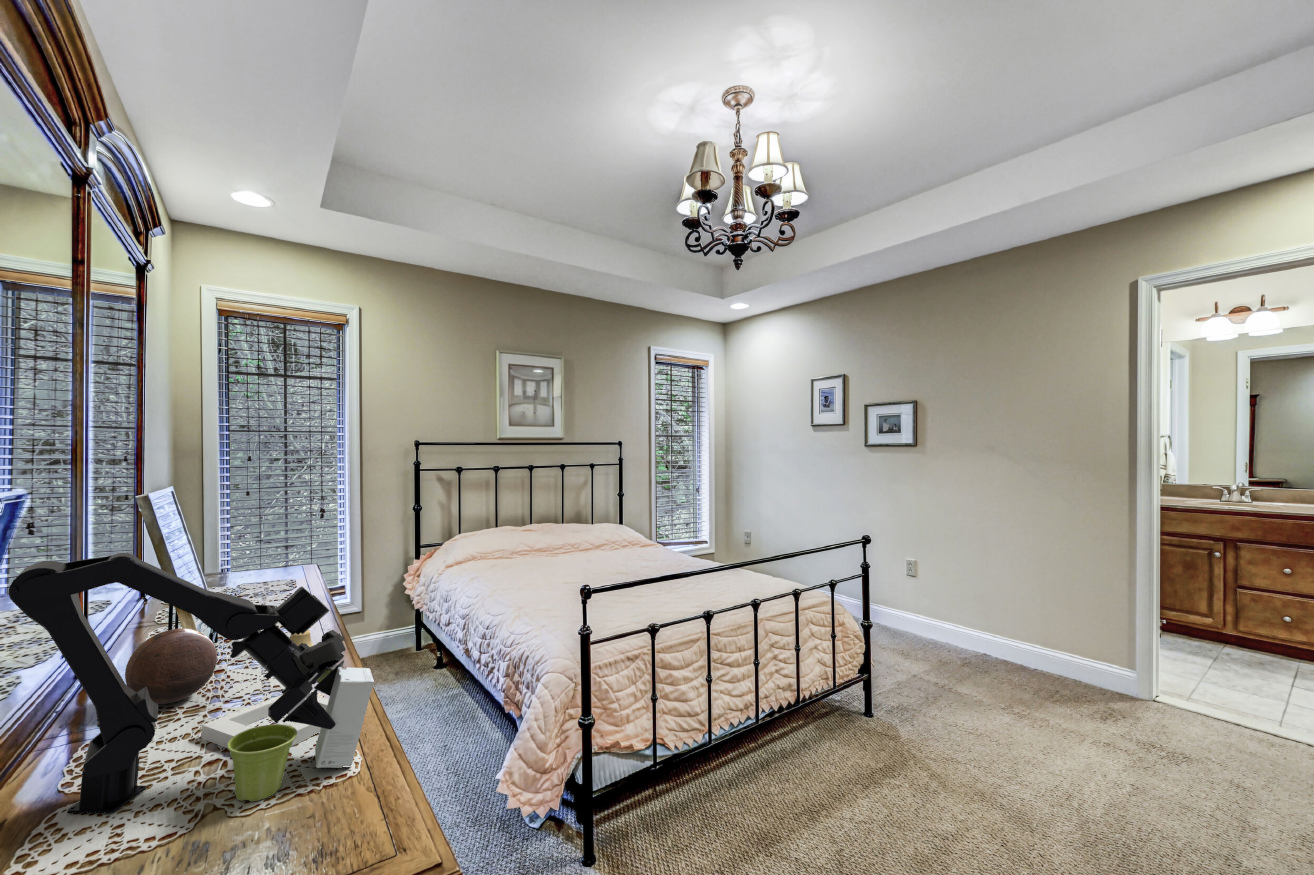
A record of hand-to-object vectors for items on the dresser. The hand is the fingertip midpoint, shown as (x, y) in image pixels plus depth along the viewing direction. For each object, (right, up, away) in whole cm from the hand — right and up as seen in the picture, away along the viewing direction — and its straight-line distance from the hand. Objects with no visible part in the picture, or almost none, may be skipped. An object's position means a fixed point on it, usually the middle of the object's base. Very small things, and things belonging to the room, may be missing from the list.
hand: (343, 714), depth 104 cm
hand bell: (-39, -8, +50) cm, 64 cm away
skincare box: (-2, -8, -1) cm, 8 cm away
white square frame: (-18, -7, +10) cm, 22 cm away
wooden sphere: (-47, -6, +18) cm, 51 cm away
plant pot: (-8, -8, -11) cm, 15 cm away
